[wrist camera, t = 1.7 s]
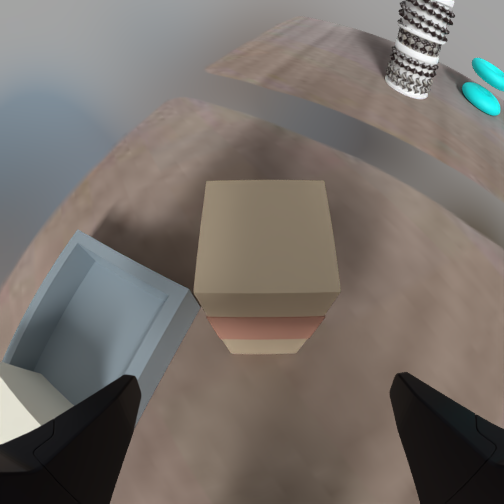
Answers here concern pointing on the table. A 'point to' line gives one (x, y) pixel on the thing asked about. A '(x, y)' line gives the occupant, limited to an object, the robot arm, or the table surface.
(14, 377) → the cream rectangular block
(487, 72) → the donuts
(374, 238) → the table surface
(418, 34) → the decorative candle
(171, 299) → the tote
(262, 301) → the oat carton
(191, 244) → the table surface
